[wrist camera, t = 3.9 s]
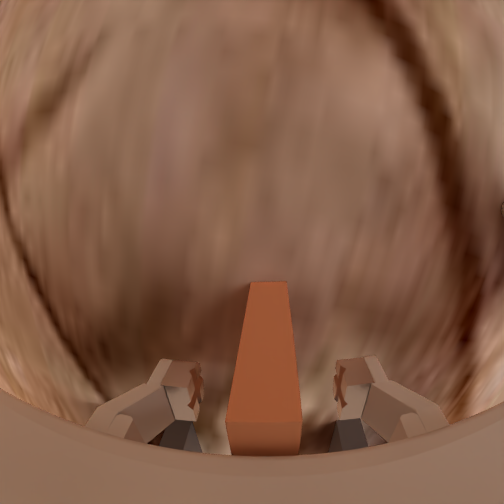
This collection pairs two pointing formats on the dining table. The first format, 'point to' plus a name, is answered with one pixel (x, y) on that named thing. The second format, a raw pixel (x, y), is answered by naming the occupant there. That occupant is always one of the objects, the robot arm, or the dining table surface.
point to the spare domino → (265, 378)
